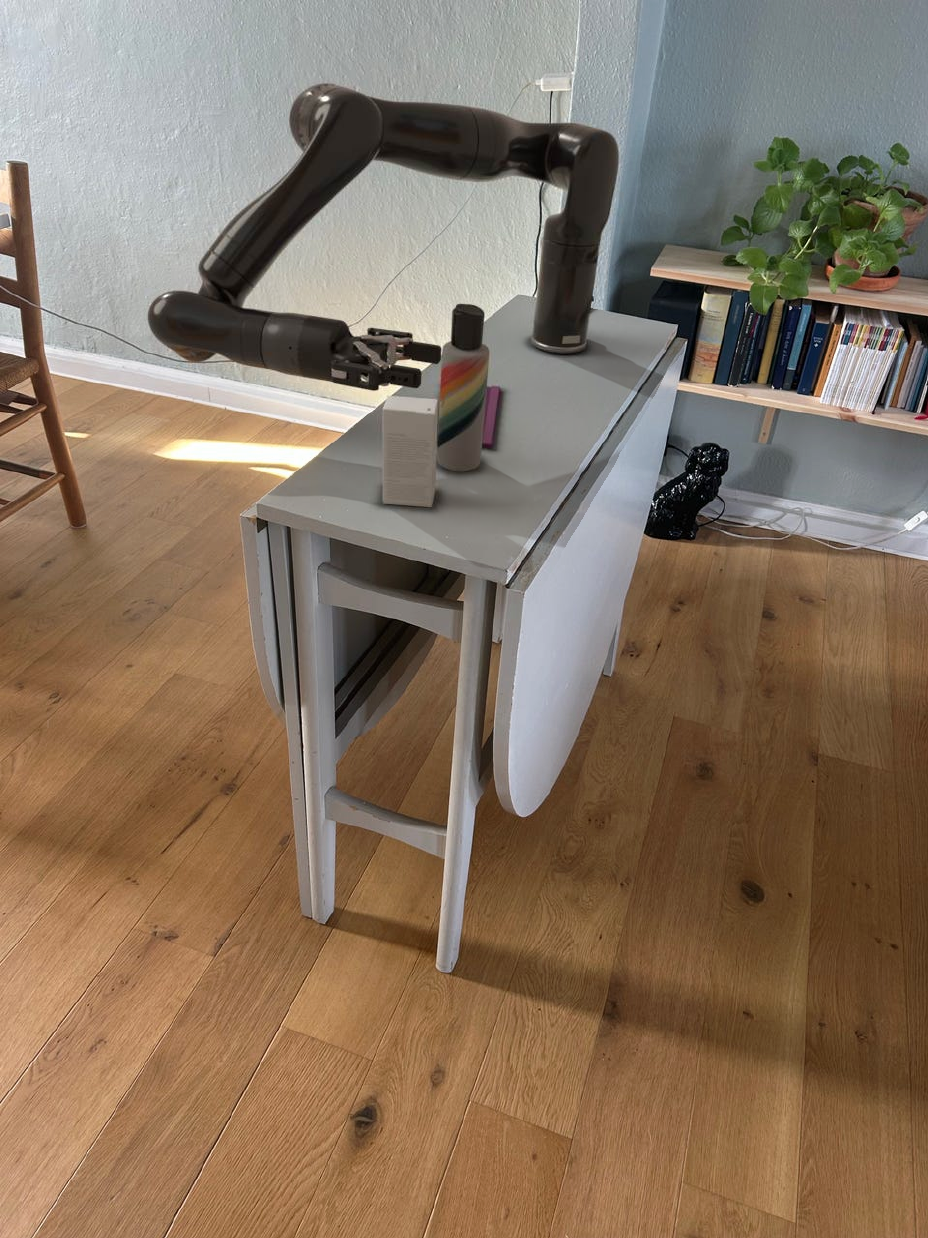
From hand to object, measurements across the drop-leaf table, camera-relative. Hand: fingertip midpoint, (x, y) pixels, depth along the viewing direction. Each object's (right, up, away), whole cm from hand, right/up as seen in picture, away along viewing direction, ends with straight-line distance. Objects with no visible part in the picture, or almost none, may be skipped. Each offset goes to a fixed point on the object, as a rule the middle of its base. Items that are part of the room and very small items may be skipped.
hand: (430, 366), depth 109 cm
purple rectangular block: (+5, -2, +19) cm, 19 cm away
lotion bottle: (+3, -11, +7) cm, 13 cm away
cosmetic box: (-3, -16, -2) cm, 17 cm away
